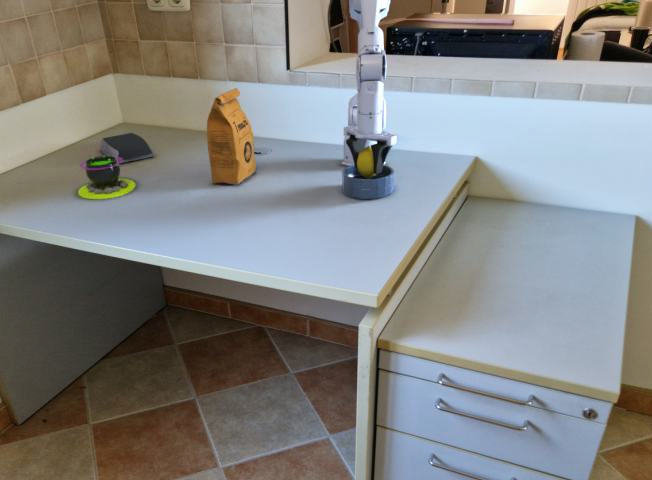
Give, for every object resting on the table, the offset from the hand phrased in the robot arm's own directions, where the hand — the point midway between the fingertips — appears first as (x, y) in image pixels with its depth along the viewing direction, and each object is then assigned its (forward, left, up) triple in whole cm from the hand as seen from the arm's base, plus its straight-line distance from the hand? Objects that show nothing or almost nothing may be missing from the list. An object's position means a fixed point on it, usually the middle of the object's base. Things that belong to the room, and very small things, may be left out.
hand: (368, 170), depth 145 cm
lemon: (0, 0, -2) cm, 2 cm away
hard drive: (-78, -22, -6) cm, 82 cm away
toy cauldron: (-54, -42, -6) cm, 69 cm away
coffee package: (-33, -15, -6) cm, 37 cm away
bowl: (0, 0, -5) cm, 5 cm away
